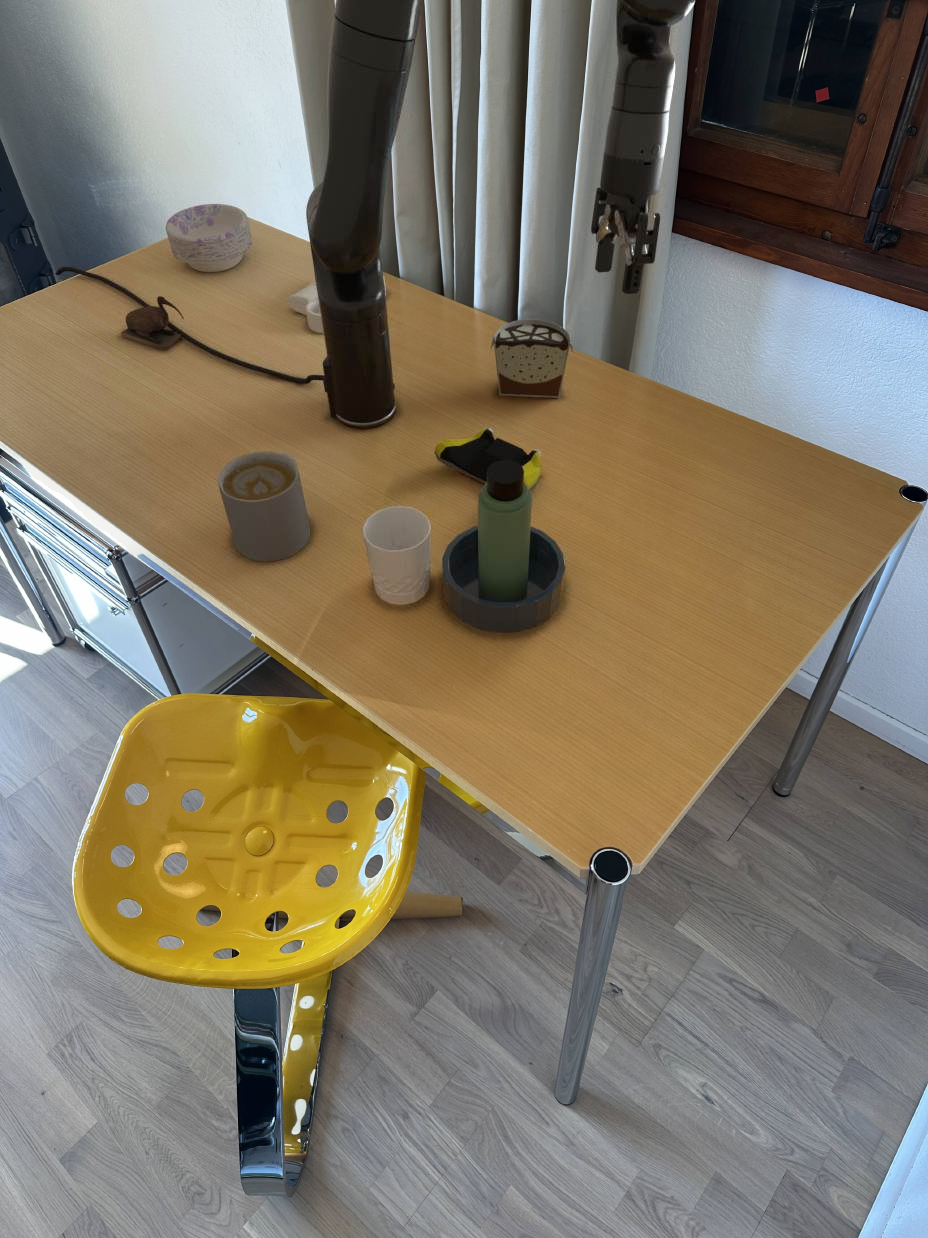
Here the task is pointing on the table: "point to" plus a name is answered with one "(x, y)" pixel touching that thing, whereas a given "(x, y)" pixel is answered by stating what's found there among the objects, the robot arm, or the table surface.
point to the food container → (531, 358)
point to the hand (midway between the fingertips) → (616, 281)
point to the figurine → (151, 326)
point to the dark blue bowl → (503, 616)
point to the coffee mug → (265, 505)
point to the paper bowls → (209, 236)
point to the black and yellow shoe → (487, 456)
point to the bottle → (504, 533)
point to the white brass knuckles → (309, 306)
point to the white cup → (399, 553)
